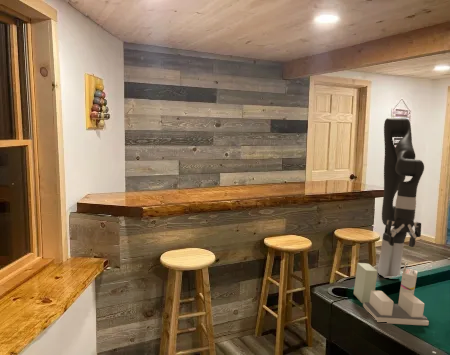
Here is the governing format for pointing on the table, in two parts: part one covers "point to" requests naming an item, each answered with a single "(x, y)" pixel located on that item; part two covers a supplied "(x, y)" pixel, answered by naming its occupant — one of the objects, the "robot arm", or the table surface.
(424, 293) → the table surface
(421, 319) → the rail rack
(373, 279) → the block
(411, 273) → the ink cartridge box
